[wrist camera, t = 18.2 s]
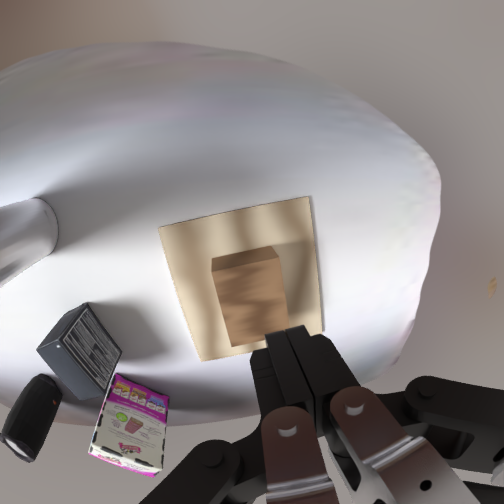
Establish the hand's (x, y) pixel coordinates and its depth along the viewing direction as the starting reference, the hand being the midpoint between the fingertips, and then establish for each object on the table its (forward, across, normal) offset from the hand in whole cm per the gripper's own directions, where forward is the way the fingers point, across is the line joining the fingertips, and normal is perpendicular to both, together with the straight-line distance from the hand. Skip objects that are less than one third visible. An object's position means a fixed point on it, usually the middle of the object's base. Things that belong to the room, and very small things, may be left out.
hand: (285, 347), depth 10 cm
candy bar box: (+27, +24, +27) cm, 45 cm away
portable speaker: (+27, +47, +25) cm, 60 cm away
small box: (+27, +27, +13) cm, 40 cm away
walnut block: (+24, 0, +4) cm, 24 cm away
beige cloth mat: (+27, 0, +10) cm, 29 cm away
